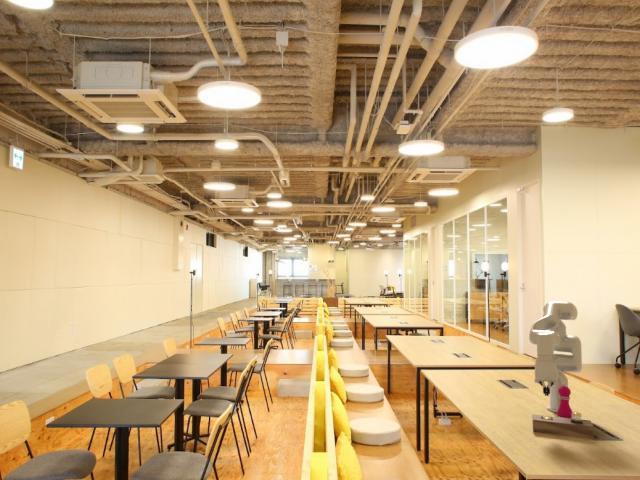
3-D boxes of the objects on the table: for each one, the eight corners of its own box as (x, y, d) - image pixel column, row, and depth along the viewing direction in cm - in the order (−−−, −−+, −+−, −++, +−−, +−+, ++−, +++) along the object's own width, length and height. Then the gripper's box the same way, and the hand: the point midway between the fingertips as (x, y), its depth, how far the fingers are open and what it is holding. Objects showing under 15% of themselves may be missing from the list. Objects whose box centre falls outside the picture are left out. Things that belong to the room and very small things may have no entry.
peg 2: (571, 421, 233) (571, 411, 233) (580, 422, 232) (580, 412, 232) (572, 423, 229) (572, 414, 230) (581, 424, 228) (581, 415, 228)
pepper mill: (559, 419, 254) (558, 381, 255) (574, 422, 249) (573, 383, 251) (556, 422, 248) (554, 383, 250) (571, 425, 244) (570, 385, 245)
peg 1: (542, 425, 238) (542, 416, 238) (551, 426, 236) (551, 417, 237) (543, 427, 234) (542, 418, 234) (552, 428, 233) (551, 419, 233)
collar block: (532, 426, 242) (532, 414, 243) (590, 433, 232) (590, 420, 233) (533, 432, 233) (533, 419, 233) (593, 439, 223) (593, 426, 223)
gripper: (561, 357, 238) (562, 394, 237) (529, 355, 244) (530, 391, 243) (562, 360, 231) (564, 398, 230) (529, 358, 237) (530, 395, 236)
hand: (546, 395), depth 237 cm, fingers closed
